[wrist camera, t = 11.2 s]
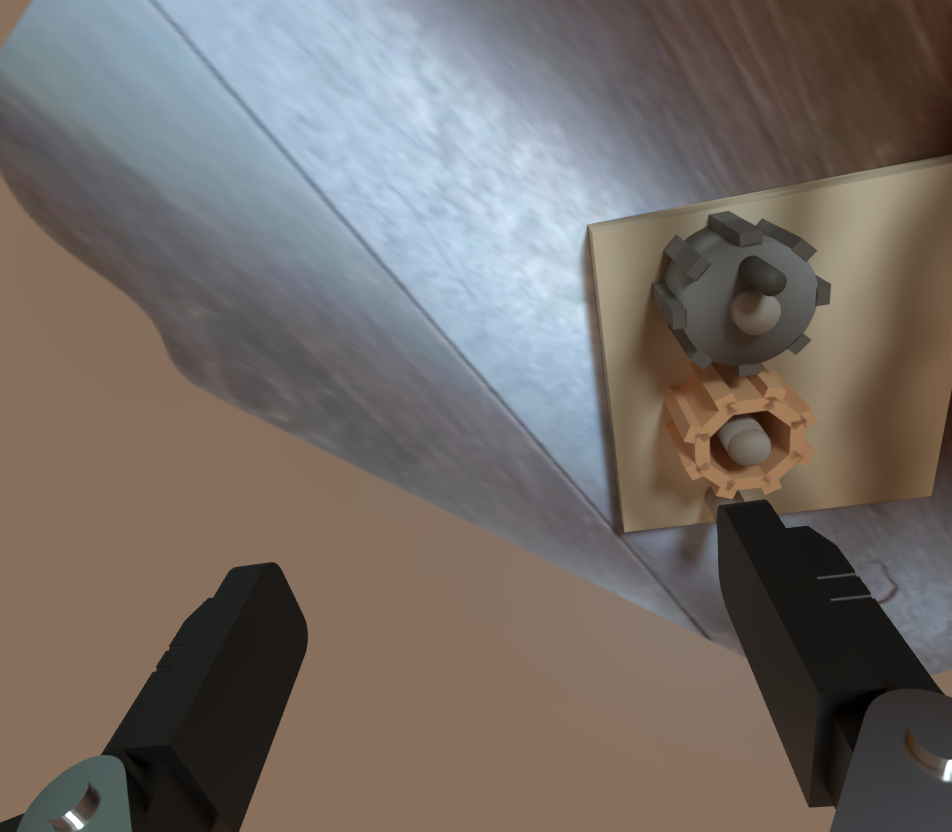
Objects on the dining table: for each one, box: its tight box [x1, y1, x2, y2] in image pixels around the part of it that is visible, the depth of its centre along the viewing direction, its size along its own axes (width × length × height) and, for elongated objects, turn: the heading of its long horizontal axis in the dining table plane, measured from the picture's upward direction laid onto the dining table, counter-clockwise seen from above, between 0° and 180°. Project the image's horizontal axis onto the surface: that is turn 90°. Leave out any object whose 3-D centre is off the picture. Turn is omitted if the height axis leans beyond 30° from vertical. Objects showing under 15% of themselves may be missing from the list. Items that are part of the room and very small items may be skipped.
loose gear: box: [664, 362, 818, 499], centre depth 31 cm, size 6×6×4 cm
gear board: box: [588, 154, 952, 532], centre depth 30 cm, size 18×19×9 cm
